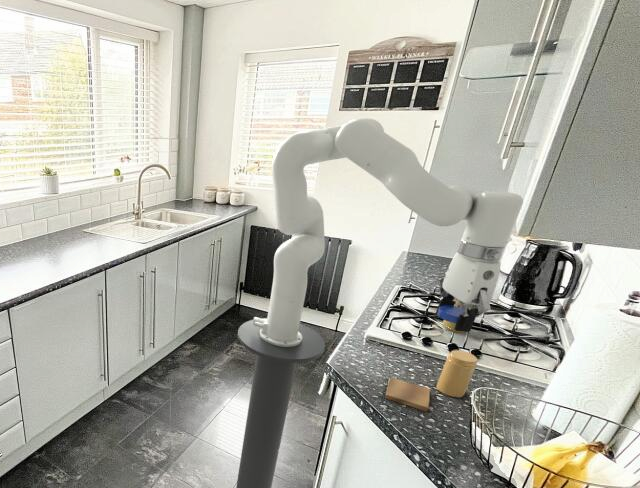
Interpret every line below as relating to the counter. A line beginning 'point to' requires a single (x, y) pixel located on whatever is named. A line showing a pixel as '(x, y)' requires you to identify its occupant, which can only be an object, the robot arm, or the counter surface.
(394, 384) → the block
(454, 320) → the jar lid
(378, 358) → the counter surface
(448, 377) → the jar
